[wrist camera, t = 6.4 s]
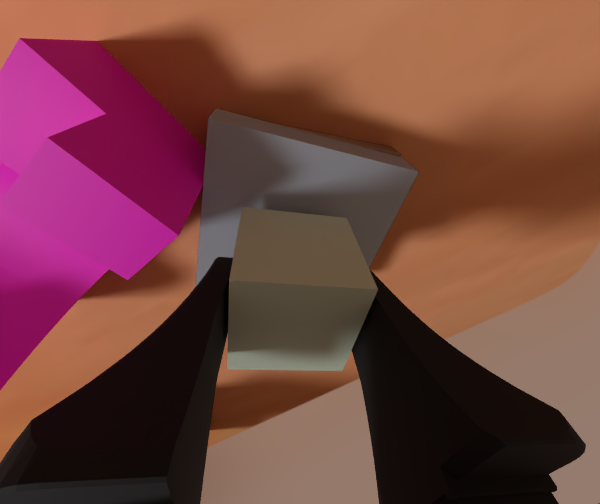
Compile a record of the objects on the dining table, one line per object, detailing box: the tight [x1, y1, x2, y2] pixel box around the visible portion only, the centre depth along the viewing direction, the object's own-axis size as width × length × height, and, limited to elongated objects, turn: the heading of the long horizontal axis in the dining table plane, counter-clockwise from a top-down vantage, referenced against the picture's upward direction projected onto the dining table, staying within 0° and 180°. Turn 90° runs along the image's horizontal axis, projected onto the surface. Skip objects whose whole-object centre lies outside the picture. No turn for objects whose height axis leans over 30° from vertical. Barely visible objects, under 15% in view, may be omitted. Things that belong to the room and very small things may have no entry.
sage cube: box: [227, 207, 378, 371], centre depth 11 cm, size 4×4×4 cm
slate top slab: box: [196, 108, 419, 286], centre depth 15 cm, size 9×9×2 cm
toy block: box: [0, 38, 206, 390], centre depth 12 cm, size 15×6×8 cm, turn 129°
